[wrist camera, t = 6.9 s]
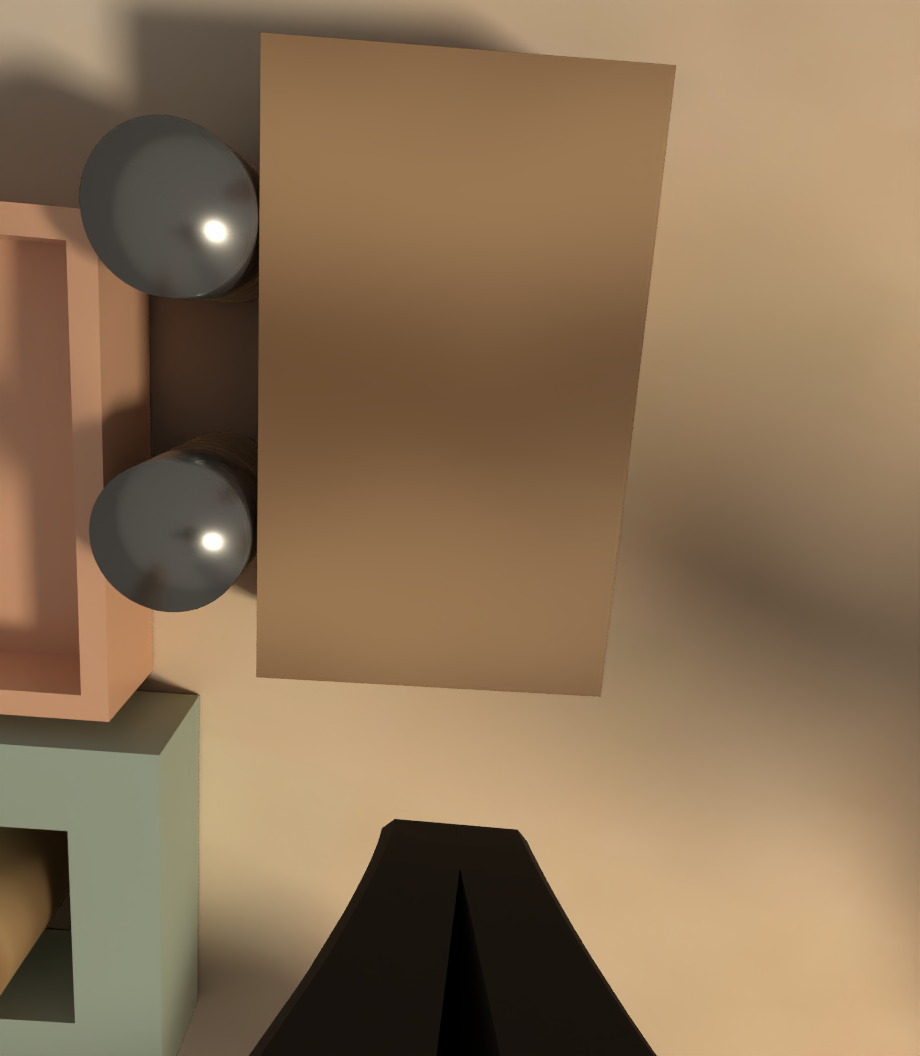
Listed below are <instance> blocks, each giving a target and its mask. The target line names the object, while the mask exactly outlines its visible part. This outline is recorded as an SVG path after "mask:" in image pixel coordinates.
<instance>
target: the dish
mask: <svg viewBox="0 0 920 1056" xmlns="http://www.w3.org/2000/svg"><path fill="white" fill-rule="evenodd" d="M149 459H151V439H150V330H149V294H147V293H144V292H142V291H139V290H137V289H135V288H133V287H131V286H130V285H128V284H126V283H124V282H123V281H122V280H120V279H119V278H118V277H117V276H115V275H114V274H113V273H112V272H111V271H110V270H109V269H108V268H107V267H106V266H105V265H104V263H103V262H102V261H101V260H100V259H99V257H98V256H97V254H96V253H95V251H94V249H93V248H92V246H91V244H90V242H89V240H88V238H87V235H86V232H85V229H84V226H83V223H82V218H81V213H80V208H70V207H59V206H48V205H37V204H26V203H15V202H4V201H0V714H5V715H19V716H33V717H47V718H61V719H75V720H89V721H103V722H109V721H110V720H111V719H112V718H113V717H114V715H115V714H116V713H117V712H118V711H119V709H120V708H121V707H122V706H123V705H124V704H125V702H126V701H127V700H128V699H129V698H130V697H131V695H132V694H133V693H134V692H135V691H136V689H137V688H138V687H139V686H140V685H141V684H142V682H143V681H144V680H145V679H146V678H147V676H148V675H149V674H150V673H151V672H152V671H153V658H152V609H150V608H146V607H144V606H141V605H139V604H137V603H135V602H133V601H131V600H129V599H128V598H126V597H125V596H124V595H122V594H121V593H120V592H118V591H117V590H116V589H115V588H114V587H113V586H112V585H111V584H110V583H109V582H108V581H107V579H106V578H105V577H104V575H103V574H102V572H101V571H100V569H99V567H98V565H97V563H96V561H95V559H94V556H93V553H92V550H91V545H90V539H89V522H90V516H91V512H92V509H93V506H94V503H95V501H96V499H97V497H98V496H99V494H100V493H101V491H102V490H103V488H104V487H105V486H106V485H107V484H108V483H109V482H110V481H111V480H112V479H113V478H115V477H116V476H117V475H119V474H120V473H122V472H124V471H126V470H127V469H129V468H132V467H134V466H136V465H138V464H140V463H142V462H144V461H147V460H149Z"/></svg>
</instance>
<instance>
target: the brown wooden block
mask: <svg viewBox="0 0 920 1056" xmlns="http://www.w3.org/2000/svg"><path fill="white" fill-rule="evenodd" d="M675 71H676V65H667V64H654V63H641V62H629V61H616V60H603V59H591V58H578V57H566V56H553V55H540V54H528V53H515V52H503V51H490V50H477V49H465V48H452V47H439V46H427V45H414V44H402V43H389V42H376V41H364V40H351V39H339V38H326V37H313V36H301V35H288V34H275V33H263V32H261V56H260V209H259V363H258V516H257V669H256V677H263V678H281V679H298V680H316V681H334V682H351V683H369V684H387V685H404V686H422V687H440V688H457V689H475V690H493V691H510V692H528V693H546V694H563V695H581V696H599V697H601V688H602V680H603V672H604V663H605V655H606V647H607V638H608V630H609V622H610V613H611V605H612V597H613V588H614V580H615V572H616V563H617V555H618V547H619V538H620V530H621V521H622V513H623V505H624V496H625V488H626V480H627V471H628V463H629V455H630V446H631V438H632V430H633V421H634V413H635V405H636V396H637V388H638V380H639V371H640V363H641V355H642V346H643V338H644V329H645V321H646V313H647V304H648V296H649V288H650V279H651V271H652V263H653V254H654V246H655V238H656V229H657V221H658V213H659V204H660V196H661V188H662V179H663V171H664V163H665V154H666V146H667V137H668V129H669V121H670V112H671V104H672V96H673V87H674V79H675Z"/></svg>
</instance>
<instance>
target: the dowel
mask: <svg viewBox="0 0 920 1056" xmlns="http://www.w3.org/2000/svg"><path fill="white" fill-rule="evenodd" d="M69 892H70V881H69V856H68V831H59V830H44V829H29V828H15V827H0V995H1V994H2V992H3V991H4V989H5V988H6V986H7V985H8V983H9V982H10V980H11V979H12V977H13V976H14V974H15V973H16V971H17V970H18V968H19V967H20V965H21V964H22V962H23V961H24V959H25V958H26V956H27V955H28V953H29V952H30V950H31V949H32V947H33V946H34V944H35V943H36V941H37V940H38V938H39V937H40V935H41V934H42V932H43V931H44V929H45V928H46V926H47V925H48V923H49V922H50V920H51V919H52V917H53V916H54V914H55V913H56V911H57V910H58V908H59V907H60V905H61V904H62V902H63V901H64V899H65V898H66V896H67V895H68V893H69Z"/></svg>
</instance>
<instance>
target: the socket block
mask: <svg viewBox="0 0 920 1056" xmlns="http://www.w3.org/2000/svg"><path fill="white" fill-rule="evenodd" d="M199 701H200V695H189V694H175V693H162V692H148V691H135V692H134V693H133V694H132V695H131V697H130V698H129V699H128V700H127V701H126V702H125V704H124V705H123V706H122V707H121V708H120V709H119V711H118V712H117V713H116V714H115V715H114V717H113V718H112V719H111V720H110V721H109V722H103V721H89V720H75V719H61V718H47V717H33V716H19V715H5V714H0V827H15V828H29V829H44V830H59V831H68V856H69V881H70V907H71V931H66V930H50V929H44V931H43V932H42V934H41V935H40V937H39V938H38V940H37V941H36V943H35V944H34V946H33V947H32V949H31V950H30V952H29V953H28V955H27V956H26V958H25V959H24V961H23V962H22V964H21V965H20V967H19V968H18V970H17V971H16V973H15V974H14V976H13V977H12V979H11V980H10V982H9V983H8V985H7V986H6V988H5V989H4V991H3V992H2V994H1V995H0V1056H177V1054H178V1052H179V1049H180V1046H181V1044H182V1041H183V1038H184V1036H185V1033H186V1030H187V1027H188V1025H189V1022H190V1019H191V1017H192V1014H193V1011H194V1009H195V1006H196V1003H197V1001H198V860H199Z"/></svg>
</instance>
